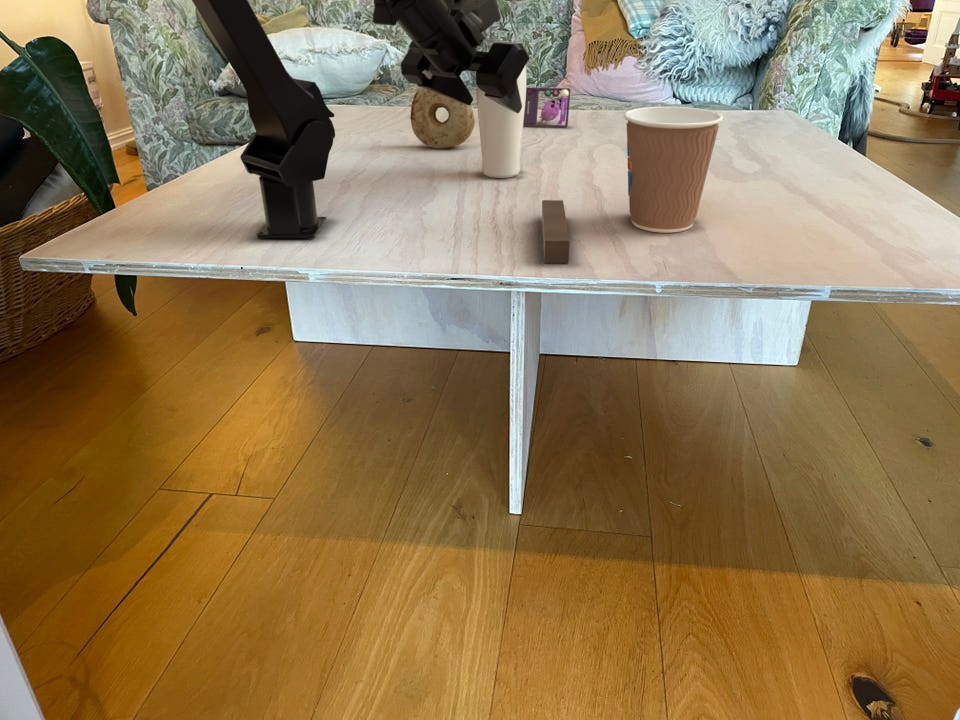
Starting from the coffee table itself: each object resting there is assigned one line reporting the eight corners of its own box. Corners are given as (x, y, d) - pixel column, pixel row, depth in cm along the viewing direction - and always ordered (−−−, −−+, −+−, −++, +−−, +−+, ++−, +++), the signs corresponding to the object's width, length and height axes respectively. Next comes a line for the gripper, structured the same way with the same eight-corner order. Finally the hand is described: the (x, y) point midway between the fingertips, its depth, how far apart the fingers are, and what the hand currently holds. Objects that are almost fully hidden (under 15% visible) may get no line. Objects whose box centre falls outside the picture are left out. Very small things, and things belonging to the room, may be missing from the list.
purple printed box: (520, 86, 133) (569, 87, 131) (524, 92, 138) (572, 93, 136) (517, 125, 134) (566, 126, 132) (522, 129, 139) (569, 131, 137)
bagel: (408, 149, 120) (404, 84, 115) (415, 144, 123) (412, 80, 118) (470, 151, 118) (469, 85, 113) (476, 146, 121) (475, 82, 116)
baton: (568, 263, 74) (569, 240, 73) (544, 263, 74) (545, 240, 73) (562, 220, 86) (563, 200, 85) (541, 220, 86) (542, 200, 85)
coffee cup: (643, 205, 91) (652, 103, 85) (723, 220, 85) (739, 112, 79) (599, 226, 84) (606, 116, 78) (683, 244, 78) (697, 127, 72)
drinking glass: (521, 181, 101) (522, 64, 94) (472, 179, 102) (470, 64, 95) (528, 169, 107) (530, 58, 100) (482, 167, 108) (481, 58, 101)
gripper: (519, -34, 82) (577, 62, 94) (412, -33, 94) (475, 52, 106) (470, 48, 81) (535, 135, 93) (368, 39, 93) (437, 116, 105)
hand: (494, 106), depth 100 cm, fingers open, 9 cm apart
